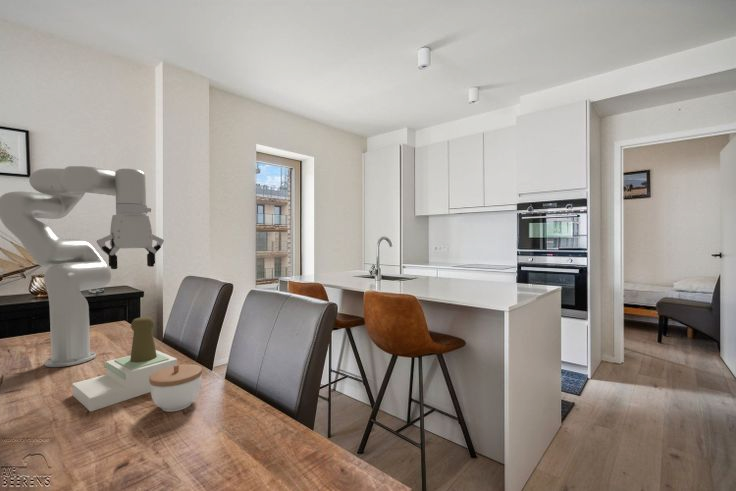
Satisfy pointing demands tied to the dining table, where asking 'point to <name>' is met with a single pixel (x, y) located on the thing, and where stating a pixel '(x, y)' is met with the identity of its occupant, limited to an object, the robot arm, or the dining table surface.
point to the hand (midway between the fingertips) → (133, 267)
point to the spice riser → (120, 381)
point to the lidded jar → (175, 386)
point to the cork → (143, 340)
